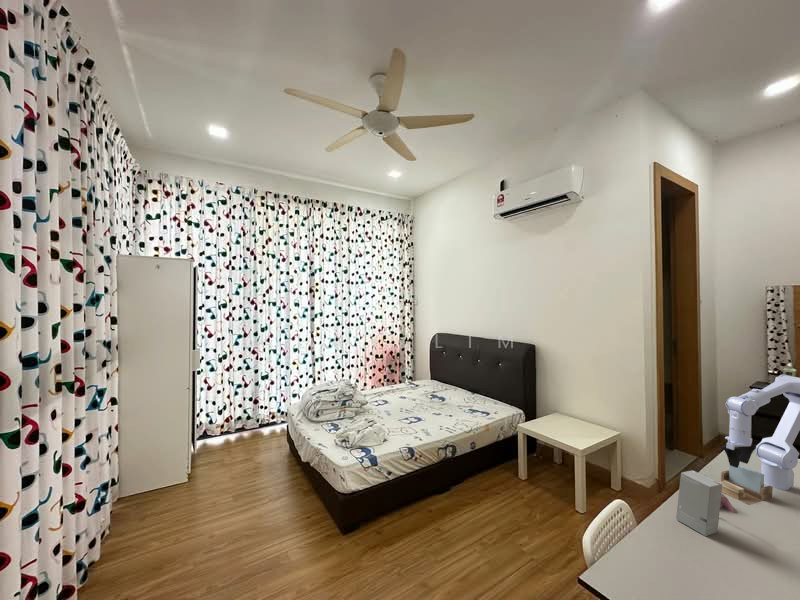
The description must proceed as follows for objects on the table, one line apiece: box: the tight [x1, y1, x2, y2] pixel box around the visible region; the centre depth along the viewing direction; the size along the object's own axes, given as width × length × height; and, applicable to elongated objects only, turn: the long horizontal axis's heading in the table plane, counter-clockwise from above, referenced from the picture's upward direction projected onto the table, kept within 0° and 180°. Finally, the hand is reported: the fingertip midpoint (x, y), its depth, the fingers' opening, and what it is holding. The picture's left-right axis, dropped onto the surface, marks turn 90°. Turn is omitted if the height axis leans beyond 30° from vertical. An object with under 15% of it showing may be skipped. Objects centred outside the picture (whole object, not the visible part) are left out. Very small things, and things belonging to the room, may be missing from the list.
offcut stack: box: [719, 480, 745, 500], centre depth 121 cm, size 4×6×3 cm, turn 18°
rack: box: [720, 469, 774, 505], centre depth 122 cm, size 14×12×5 cm
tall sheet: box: [728, 464, 765, 493], centre depth 124 cm, size 2×9×8 cm, turn 18°
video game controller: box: [720, 493, 736, 514], centre depth 113 cm, size 10×5×7 cm, turn 84°
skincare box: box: [675, 470, 723, 537], centre depth 105 cm, size 8×7×16 cm
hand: (738, 464), depth 126 cm, fingers open, 7 cm apart
